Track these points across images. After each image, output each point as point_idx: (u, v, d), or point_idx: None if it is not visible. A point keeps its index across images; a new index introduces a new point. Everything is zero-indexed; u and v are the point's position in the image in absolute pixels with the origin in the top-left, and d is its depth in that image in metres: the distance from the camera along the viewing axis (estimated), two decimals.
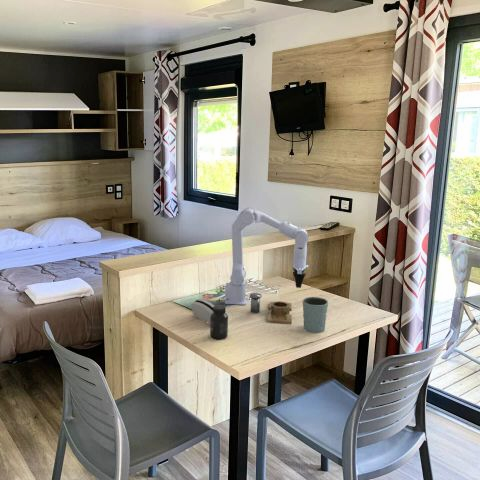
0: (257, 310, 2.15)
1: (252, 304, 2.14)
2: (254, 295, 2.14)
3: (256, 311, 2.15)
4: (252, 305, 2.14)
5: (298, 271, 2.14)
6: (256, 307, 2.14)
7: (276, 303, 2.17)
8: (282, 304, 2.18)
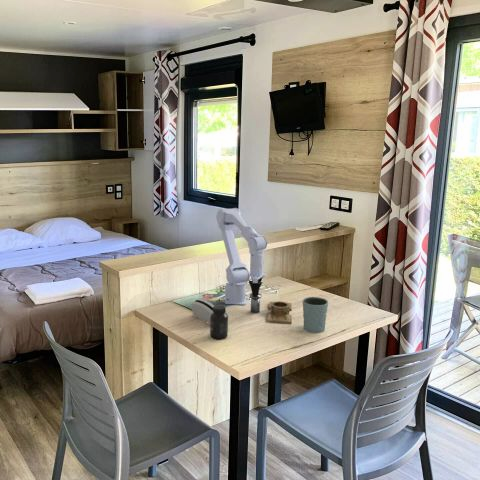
0: (257, 310, 2.15)
1: (252, 304, 2.14)
2: None
3: (256, 311, 2.15)
4: (252, 305, 2.14)
5: (254, 280, 2.06)
6: (256, 307, 2.14)
7: (276, 303, 2.17)
8: (282, 304, 2.18)
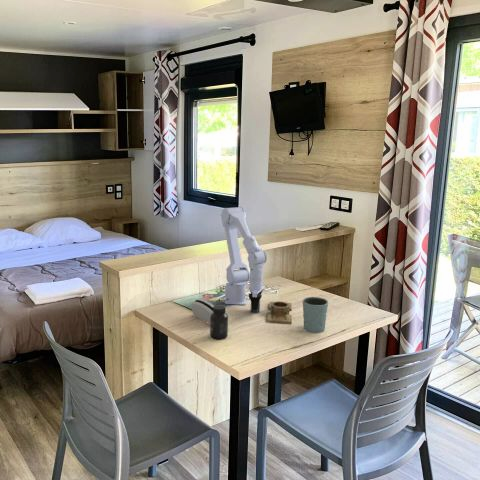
0: (257, 310, 2.15)
1: None
2: None
3: (256, 311, 2.15)
4: None
5: (253, 294, 2.07)
6: None
7: (276, 303, 2.17)
8: (282, 304, 2.18)
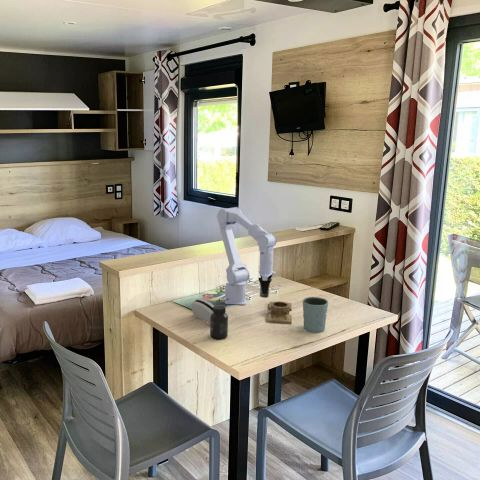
0: (266, 294, 2.12)
1: None
2: None
3: (265, 295, 2.12)
4: None
5: (263, 277, 2.05)
6: None
7: (276, 303, 2.17)
8: (282, 304, 2.18)
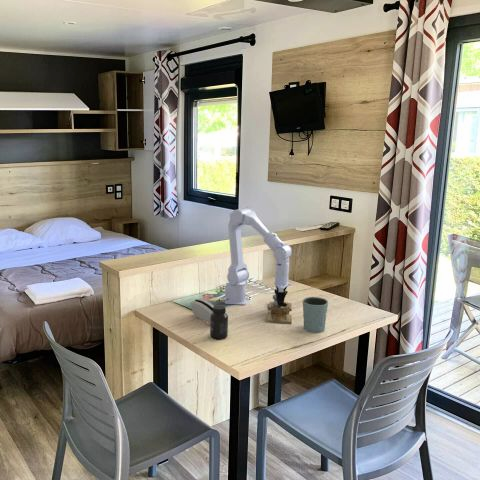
0: None
1: None
2: None
3: None
4: None
5: (279, 289, 2.06)
6: None
7: None
8: None
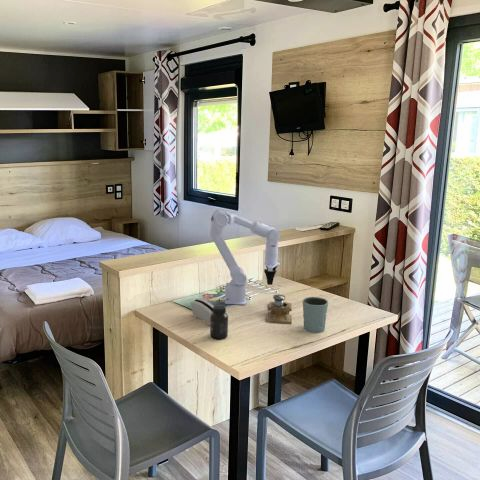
0: None
1: None
2: (278, 297, 2.13)
3: None
4: None
5: (269, 268, 2.20)
6: None
7: None
8: None
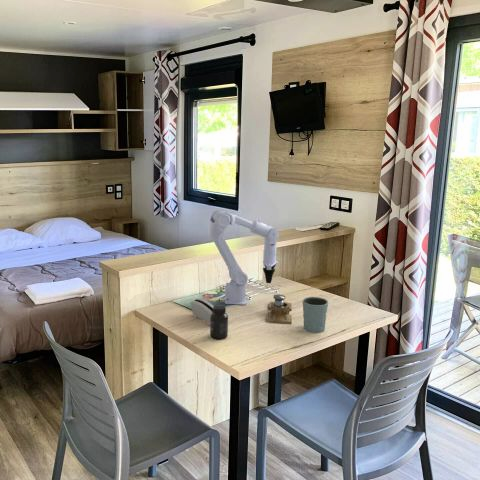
0: None
1: (276, 305, 2.13)
2: (278, 296, 2.13)
3: None
4: None
5: (267, 267, 2.22)
6: None
7: None
8: None
